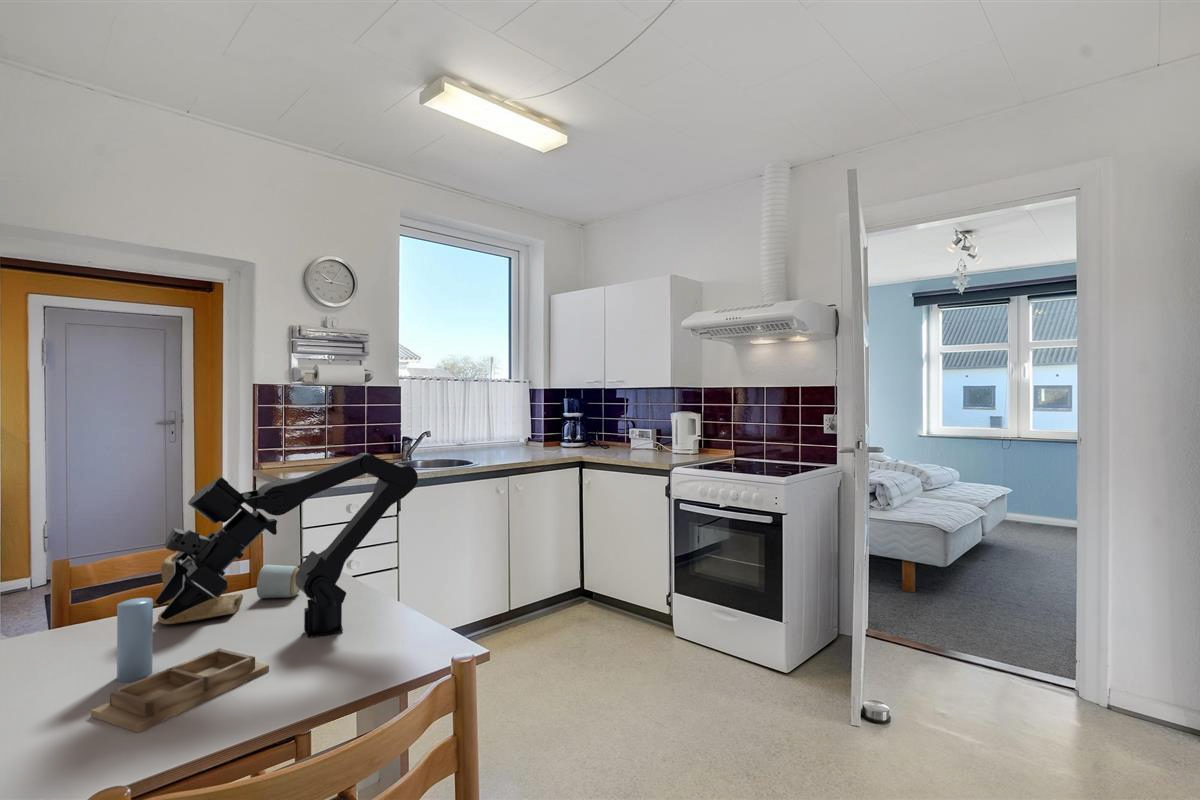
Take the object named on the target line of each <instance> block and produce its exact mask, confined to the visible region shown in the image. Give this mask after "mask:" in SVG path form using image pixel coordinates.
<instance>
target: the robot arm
mask: <svg viewBox="0 0 1200 800" xmlns="http://www.w3.org/2000/svg"><path fill="white" fill-rule="evenodd" d="M365 474H368V475H370V476H372V477H375V478H377V481H376V482H375V486H374V488H373V492H372V494H371V495H370V497H369V498H368V499H367V500H366V501H365V503H364V504H363V505H362V506H361V508H359V510H358V511H357V512H356V513H355V515H354V516H353V517H352V518H351V519H350V520H349V522H348V523H347V524H346V525H345V526H344V527H343V529H342V530H341V531H340V532H339V533H338V535H336V537H335V538H334V539H333V540H332V542H330V544H329V545H328V546H327V548H325V549H324V550H322V551H320V552H319V553H316V552H315V551H314V550H311V551H310V553H308V555H307V557H306V558H305V560H304V561H303V562H301V564H299V565H298V566H297V567H298V568H299V570H298V572H297V573H296V576H295V583H296V585H297V587H298V588H299V589H300V592H302V593H303V594H305V596H306V598H307V605H306V606H307V607H304V610H303V631H304V633H306V636H307V638H315V637H321V636H322V637H323V636H327V634H328V635H333V633H334V634H339V633H338V632H340V633H343V632H344V629H343V625H342V623H343V619H342V617H343V614H342V613H343V610H342V609H343V608H342V607H343V603H344V601H345V600H346V596H347V592H346V591H345V590H344V589H342V588H341V587H339V586H338V585H337V582H338V581H339V579H340V577H341V575H342V571H343V569H344V566H345V563H346V561H347V560H348V559H349V557H351V555H352V554H353V552H354V551H355V550H356V549H357V547H358V546H360V544H361V543H362V541H363V540H364V539H365V537H367V536H368V534H369V532H371V530H372V529H373V528H374V527H375V525H376V524H377V523H378V521H380V520H381V518H382V517H383V516H384V514H385V513H386V511H388V509H389V508H390V507H391V506H393V505H394V504H395V503H397V502H399V501H400V500H403V499H404V498H405V497H406V496H407V495H409V494H410V492H412V491H413V490H414V489H415V488H416V487H417V484H418V483H419V475H418V473H417V471H416V469H415V468H414V467H412V466H409V465H404V464H399V463H391V462H389V461H386V460H384V459H381V458H379V457H377V456H376V455H374V454H371V453H367V452H360V453H359V454H358V453H357V455H355V456H353V457H350V458H348V459H345V460H341V461H340V462H337V463H334V464H332V465H330V466H327V467H324V468H321V469H319V470H316V471H314V472H311V473H309V474H305V475H304V476H298V477H293V478H292V477H290V478H286V479H280V480H275V481H271V482H267V483H265V484H262V485H261V486H260V487H259V488H258V489H255V490H250V491H245V492H241V493H240V492H239V491H238V490H236V488H234V487H233V486H231V485H230V483H229V482H228V481H227V480H226V479H225V478H223V477H222V476H218V477H217V478H216V479H215V480H213V481H211V482H209V483H208V484H207V485H205V486H204V487H201V488H200V489H199V490H198V491H197V492H196V493H195V494H194V495H192V497H190V499H189V501H188V502H187V505H189V507H191V508H193V509H194V510H196V511H197V512H198V513H199V514H200V515H202V516H203V517H204V518H206V519H207V520H209V521H210V522H211V523H213V524H216V523H219V522H221V523H225V525H224V526H223V527H221V529H219V530H218V531H217V532H216V531H213V532H212V531H211V532H210V533H209V534H207V536H204V535H200V533H199V532H198V531H196V532H194V531H192V530H191V529H189V530H187V531H186V530H183V529H181V528H176V527H173V528H172V529H171V532H170V533H169V535H168V536H167V538H166V539H165V542H164V543H163V546H165V549H167V550H169V551H172V552H176V553H177V552H178V553H177V554H176V555H175V556H176V558H177V559H179V561H177V560H176V559H174V573H173V575H172V576H171V578H170V579H169V581H168V582H167V584H166V585H165V587H164V586H163V588H162V589H161V592H160V593H159V594H158V595H157V597H156V599H155V600H154V603H155V604H156V605H158V606H161V605H163V604H164V603H165V604H166V602H169V601H170V599H172V598H173V600H172V601H171V602H169V603H168V605H167V606H166V607H165V608H164V609H163V610H162V611H163V613H162V614H161V615H160V616H161V618H163V619H165V620H166V619H168V618H170V617H173V616H175V615H177V614H179V613H181V612H183V611H185V610H187V609H189V608H192V607H194V606H196V605H198V604H200V603H203V602H205V601H207V600H210V599H211V600H212V599H213V598H215V597H214V596H213V595H215V596H216V597H218V598H219V597H220V596H223V595H222V594H223V593H224V592H226V590H228V580H227V579H226V578H225V576H224V575H225V574H226V572H225V570H226V569H227V568H228V567H229V566H230V565H231V564H232V563H233V562H234V561H235V560H236V559H239V560H241V559H242V558H243V557H244V553H243V552H244V551H245V550H247V548H248V547H249V546H250V545H251V544H252V543H253V542H254V541H255V540H256V539H257V538H258V537H259V536H260V535H262V533H263V532H265V530H266V531H268V532H269V533H270V534H271V535H274V536H275V535H277V533H278V531H277V523H278V520H277V519H276V518H267V517H266V515H264V514H262V512H260V511H259V510H262V511H263V512H265V513H267V514H268V515H272V516H277V517H278V516H282V515H285V514H287V513H288V512H290V511H292V510H294V509H295V508H297V507H299V506H301V505H302V504H303V503H304V502H305V501H306V500H308V499H309V498H311V497H312V496H314V495H315V494H316V495H317V494H318V493H320V492H323V491H326V490H328V489H331V488H334V487H337V486H339V485H340V484H343V483H345V482H348V481H350V480H353V479H356V478H358V477H360V476H362V475H365ZM243 504H245V505H246V506H249V508H252V509H253V510H254V509H255V511H253V512H250V511H249V510H248V509H246V508H245V507H244V506H242V505H243ZM342 631H343V632H342Z"/></svg>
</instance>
